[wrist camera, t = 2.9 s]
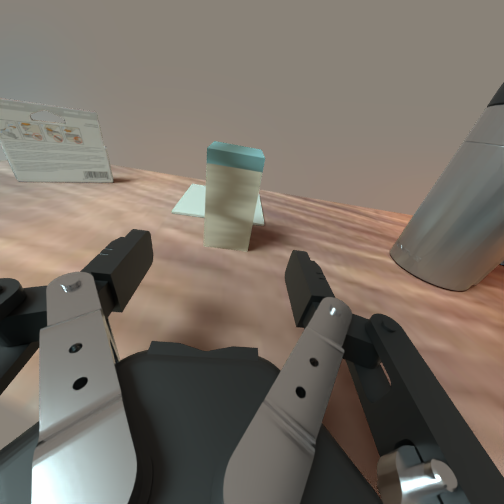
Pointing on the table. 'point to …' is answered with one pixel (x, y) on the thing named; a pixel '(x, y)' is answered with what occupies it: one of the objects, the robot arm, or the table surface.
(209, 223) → the ash block
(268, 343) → the table surface
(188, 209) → the mat
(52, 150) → the ink cartridge box
